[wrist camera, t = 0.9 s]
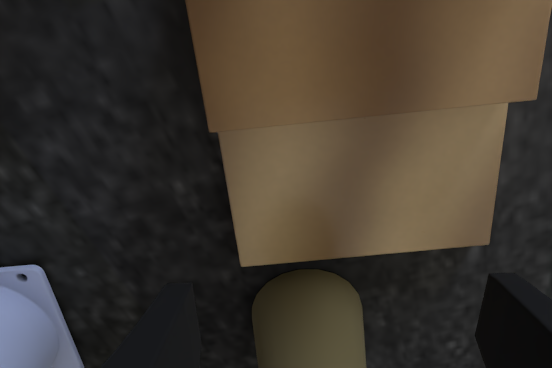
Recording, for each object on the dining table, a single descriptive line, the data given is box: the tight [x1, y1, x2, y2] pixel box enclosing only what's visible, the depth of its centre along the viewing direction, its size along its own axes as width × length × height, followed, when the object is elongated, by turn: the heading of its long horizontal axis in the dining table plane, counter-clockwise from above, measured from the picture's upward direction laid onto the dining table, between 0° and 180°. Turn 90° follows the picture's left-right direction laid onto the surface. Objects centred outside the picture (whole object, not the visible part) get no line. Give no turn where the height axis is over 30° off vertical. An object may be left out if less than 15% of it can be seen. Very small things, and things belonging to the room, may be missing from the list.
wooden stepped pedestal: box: [185, 0, 552, 267], centre depth 17 cm, size 12×16×6 cm
